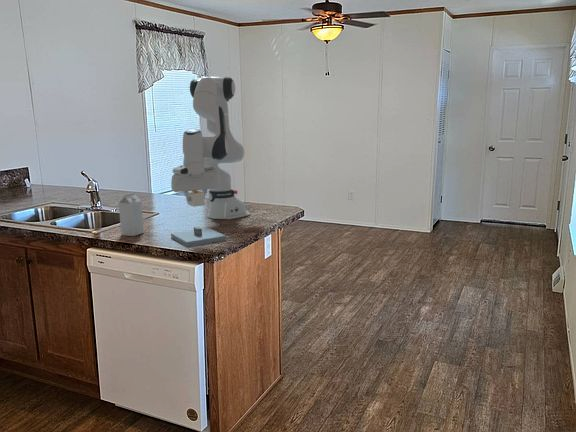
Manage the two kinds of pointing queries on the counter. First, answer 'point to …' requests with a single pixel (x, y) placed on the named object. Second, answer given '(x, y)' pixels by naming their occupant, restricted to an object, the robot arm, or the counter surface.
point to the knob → (196, 198)
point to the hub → (198, 236)
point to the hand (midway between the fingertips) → (195, 200)
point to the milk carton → (131, 215)
